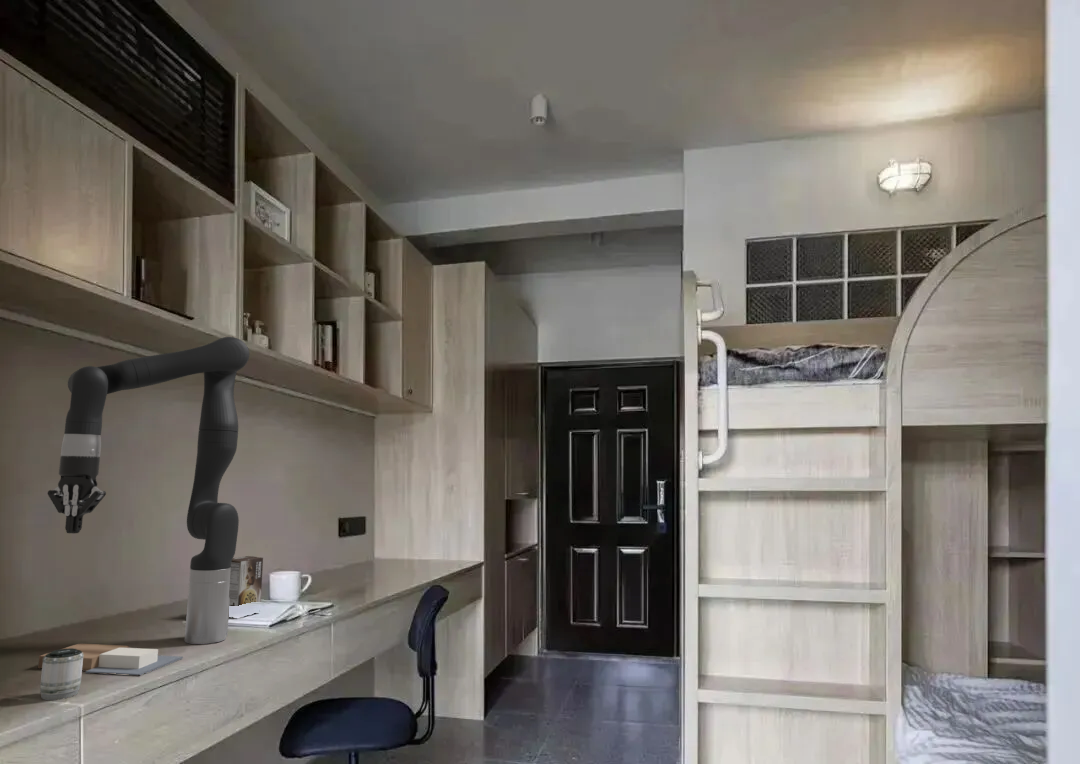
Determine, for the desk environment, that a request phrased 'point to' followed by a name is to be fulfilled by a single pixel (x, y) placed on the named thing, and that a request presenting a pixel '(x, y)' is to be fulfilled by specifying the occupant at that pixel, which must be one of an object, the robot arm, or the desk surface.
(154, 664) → the mat
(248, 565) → the coffee box
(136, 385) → the robot arm
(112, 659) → the white box
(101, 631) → the desk surface
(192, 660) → the desk surface
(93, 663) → the plate
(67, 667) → the camera lens
